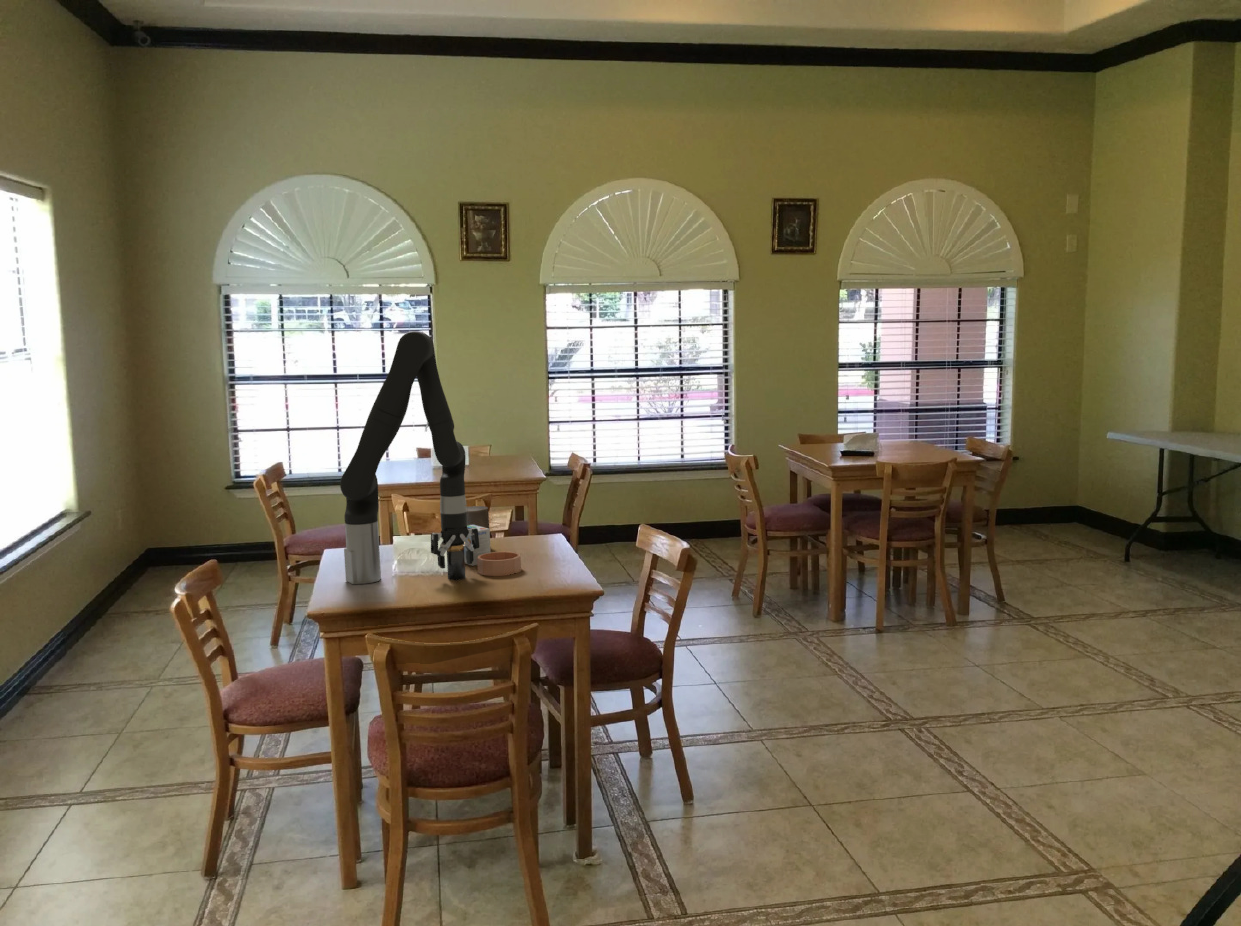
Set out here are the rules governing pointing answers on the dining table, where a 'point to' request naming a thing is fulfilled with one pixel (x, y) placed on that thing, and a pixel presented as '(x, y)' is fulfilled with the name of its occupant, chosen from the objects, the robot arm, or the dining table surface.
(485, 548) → the light bulb box
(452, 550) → the black cell
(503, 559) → the pink round dish
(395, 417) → the robot arm
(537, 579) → the dining table surface
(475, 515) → the pillar candle
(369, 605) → the dining table surface
